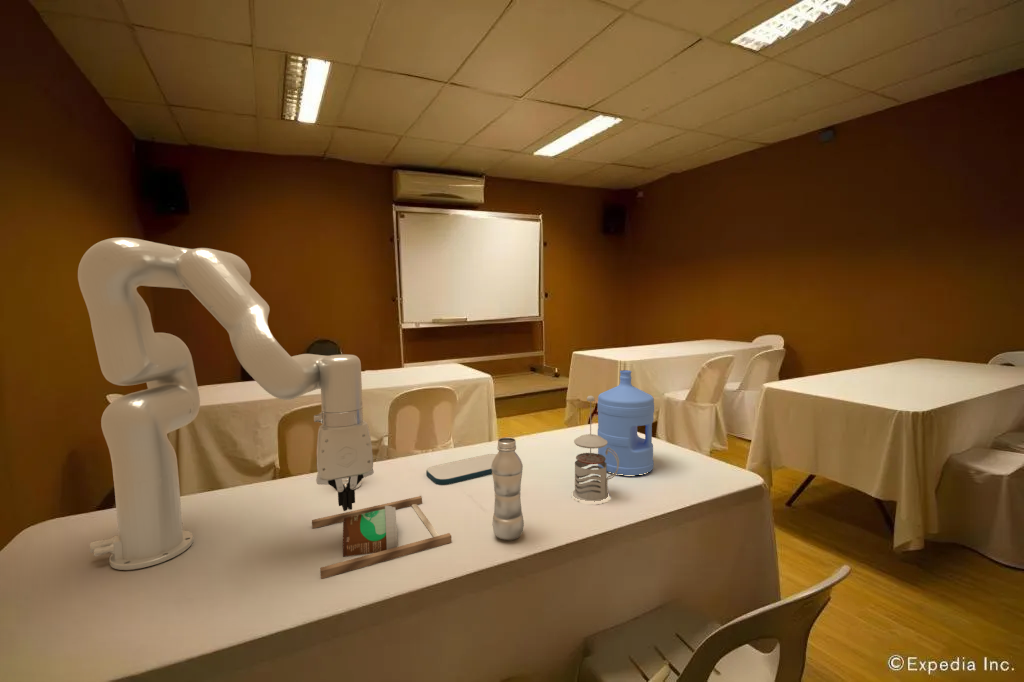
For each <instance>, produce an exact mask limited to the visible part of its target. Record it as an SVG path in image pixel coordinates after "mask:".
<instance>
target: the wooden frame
mask: <svg viewBox="0 0 1024 682" xmlns="http://www.w3.org/2000/svg"><path fill="white" fill-rule="evenodd" d="M422 504H423V497H422V496H421V495H419V496H414V497H411V498H404V499H402V500H401V499H400V500H397V501H391V502H386V503H382V504H379V505H378V504H377V505H374V506H373V505H372V506H369V507H364V508H360V509H355V510H349V511H345V512H342V513H338V514H337V513H336V514H332V515H327V516H324V517H319V518H314V519H311V527H312V529H316V528H317V529H318V528H321V527H325V526H330V525H335V524H338V523H342V522H343V521H344V518H346V517H350V516H355V515H359V514H364V513H368V512H373V511H378V510H382V509H385V506H392V507H395V509H396V510H400V509H405V508H409V507H411V508H412V509H413V510H414V512H415V513H416V515H417V516H418V518H419V519H420V520H421V523H422V524H424V526H425V528H426V529H427V531H428V532H429V533H430V535H431V536H432V537H428V538H426V539H422V540H418V541H414V542H411V543H406V544H403V545H400V546H399V545H398V547H395V548H391V549H388V550H384V551H380V552H377V553H370V554H364V555H363V556H358V557H354V558H351V559H348V560H344V561H340V562H337V563H332V564H329V565H325V566H321V567H320V568H319V569H320V570H319V574H320V578H321V580H323V579H325V578H330V577H333V576H336V575H340V574H344V573H346V572H351V571H355V570H358V569H362V568H365V567H369V566H372V565H376V564H380V563H383V562H386V561H390V560H394V559H397V558H400V557H404V556H408V555H412V554H414V553H418V552H422V550H423V551H426V550H429V549H432V548H437V547H440V546H443V545H447V544H450V543H452V535H451V533H450V532H448V533H444V534H439V533H438V532H437V529H436V528H435V527H434V526H433V524H432V523H431V522H430V521H429V518H427V516H426V514H425V513H424V512H423V510H421V508H420V507H419V505H422Z"/></svg>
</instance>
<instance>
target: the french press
mask: <svg viewBox="0 0 1024 682" xmlns="http://www.w3.org/2000/svg"><path fill="white" fill-rule="evenodd" d="M595 399H596V398H595V397H594V396H593V395H587V397H586V401H587V402H589V411H590V412H589V414H590V415H589V417H590V418H589V419H590V420H589V421H590V422H589V423H590V424H589V431H590V433H589V434H588V433H587V434H582V435H580V436H578V437H576V438H575V439H574V440H573V443H574V445H575V446H577V447H580V448H583V449H590V450H589V451H590V452H583V453H579V454H577V455H576V456H575V459H576V461H574V490H573V491H572V492H573V496H574V497H575V498H577V499H580V500H585V501H594V502H595V501H601V500H603V499H606V498H607V497H608V493H609V492H608V487H609V486H608V482H609V481H608V480H612V479H613V478H614V477H615V476H617V475H616V473H617V471H618V468H619V459H618V456H617V454H616V453H615V452H614V451H613V450H612V449H610V448H607V450H606V455H607V453H608V451H609V450H608V449H610V450H612V451H613V452H614V453H615V454H616V456H617V458H616V456H615V455H614V454H613V453H612V452H611V451H609V452H611V453H612V454H613V455H614V456H615V458H616V461H617V470H616V472H615V473H614V474H611V475H607V473H608V472H607V464H606V463H605V462H604V461H605V460H606V459H605V457H604V456H603V455H600V454H598V453H595V452H592V449H593V450H594V449H598V448H602V447H605V446H606V445H607V440H605V439H603V438H602V437H600V436H598V434H594V433H593V434H592V402H595ZM617 459H618V460H617ZM598 464H600V465H602V466H603V467H604V468H601V467H599V466H598ZM589 465H591V466H589ZM587 466H589V467H587ZM584 467H587V468H584ZM590 475H591V476H590ZM589 480H590V481H589ZM587 481H588V482H587Z"/></svg>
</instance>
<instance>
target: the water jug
mask: <svg viewBox="0 0 1024 682" xmlns="http://www.w3.org/2000/svg"><path fill="white" fill-rule="evenodd" d="M619 373H620V376H619V385H617V386H614V387H612V388H610V389H607V390H605V391H603V392H601V393H599V395H598V396H597V435H598V436H600V437H602V438H603V439H605V440H607V445H606V446H605V447H602V448H597V449H598V450H597V454H600V455H603V456H604V457H605V459H606V460H605V461H604V462H605V463H606V464H607V471H608V472H611V473H615V472H616V470H617V461H616V458H617V456H618V459H619V468H618V471H617V473H616V474H623V475H639V474H644V473H647V472H650V471H651V470H652V469H653V470H654V466H655V465H654V444H653V442H652V440H653V439H652V437H653V432H652V431H653V427H652V426H653V422H654V421H655V419H654V413H655V402H654V401H655V399H654V397H653V395H651V394H650V393H647V392H645V391H644V390H642V389H640V388H638V387H635V386H633V384H632V370H625V369H624V370H619ZM642 426H645V429H644V432H645V433H644V434H645V436H644V438H643V437H640V436H639V434H638V427H642ZM607 448H610V449H612V450H613V451H614V452H615V453H616V454H617V456H616V454H615V453H614V452H613V451H612V450H610V449H608V450H609V451H611V452H612V453H613V454H614V455H615V456H616V458H615V456H614V455H613V454H612V453H611V452H609V451H608V453H607V455H606V450H607ZM618 459H617V460H618ZM597 466H599V467H601V468H604V467H603V466H602V465H600V464H597ZM653 470H652V471H653ZM652 471H651V472H652ZM608 472H607V473H608ZM651 472H650V473H651Z"/></svg>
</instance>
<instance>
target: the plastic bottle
mask: <svg viewBox="0 0 1024 682" xmlns="http://www.w3.org/2000/svg"><path fill="white" fill-rule="evenodd" d="M516 442H517V441H516V439H515V437H514V438H513V437H509V436H508V437H501V438H499V439H497V451H498V452H497V453H496V454H497V455H496V456H495V458H494V460H493V462H492V466H491V467H492V474H491V476H492V480H493V487H494V489H493V490H494V505H493V506H494V508H493V509H494V510H493V515H492V525H491V526H492V530H493V533H494V535H495V536H496V537H497V538H498V539H501V541H502V540H503V541H513V540H516V539H518V538H520V536H521V535H523V532H524V526H525V520H524V515H523V511H522V503H521V499H522V498H521V489H522V488H521V486H522V485H521V484H522V476H523V467H524V466H523V462H522V459H521V458H520V457H519V454H518V453H517V452H516V450H517V445H516V444H517V443H516Z"/></svg>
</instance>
